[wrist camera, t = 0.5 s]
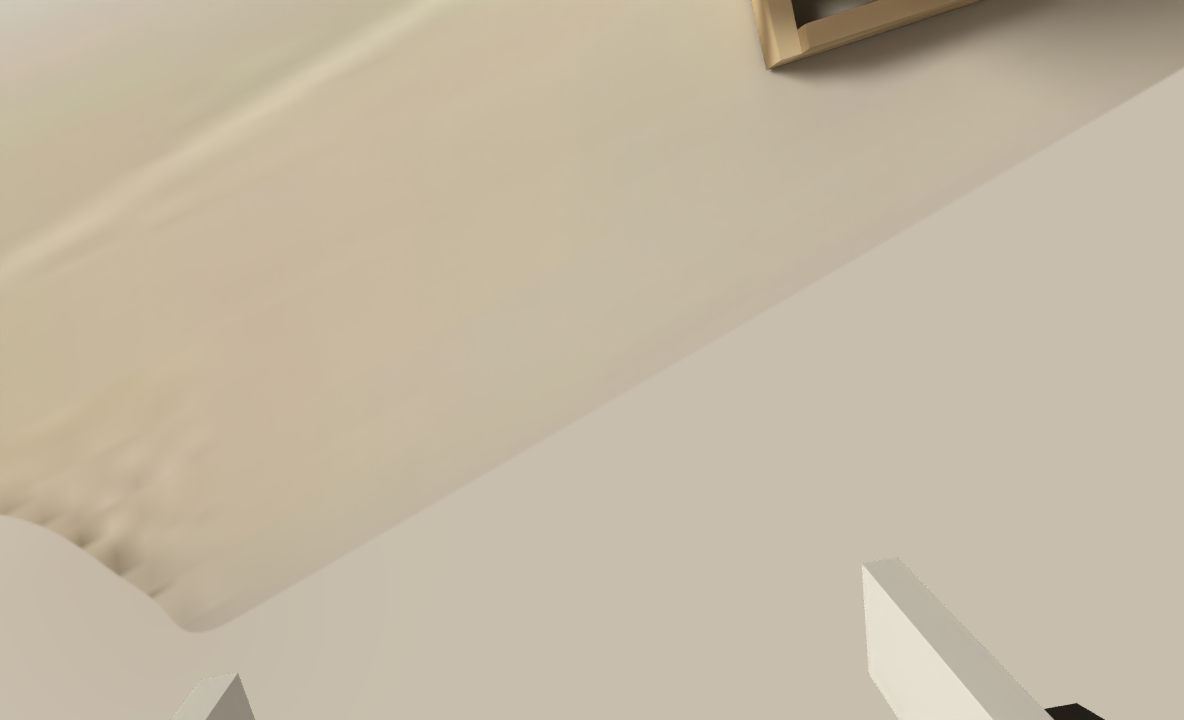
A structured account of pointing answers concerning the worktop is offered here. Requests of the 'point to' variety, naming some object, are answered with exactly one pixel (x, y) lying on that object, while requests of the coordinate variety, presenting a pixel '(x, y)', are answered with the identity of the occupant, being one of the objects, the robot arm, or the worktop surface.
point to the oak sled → (835, 25)
